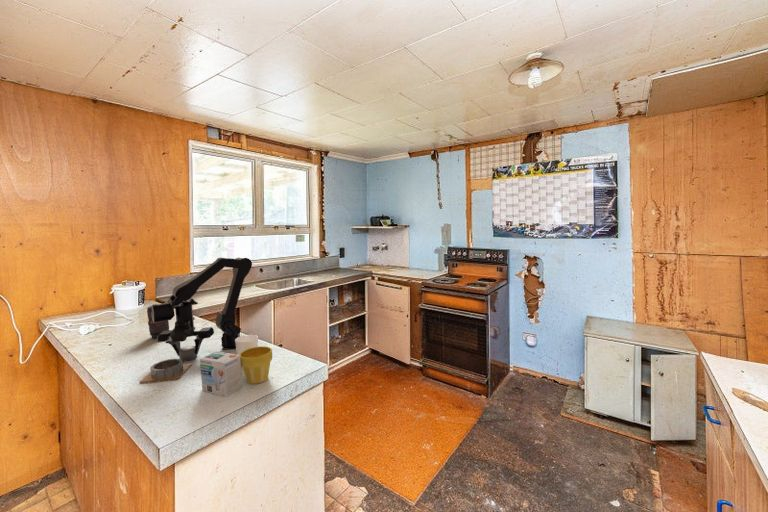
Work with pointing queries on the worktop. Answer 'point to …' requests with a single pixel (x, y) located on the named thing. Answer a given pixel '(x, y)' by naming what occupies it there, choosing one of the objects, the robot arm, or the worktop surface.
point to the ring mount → (166, 371)
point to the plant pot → (256, 363)
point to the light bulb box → (221, 373)
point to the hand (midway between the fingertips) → (188, 355)
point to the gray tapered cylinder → (187, 353)
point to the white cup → (246, 342)
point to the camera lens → (156, 325)
